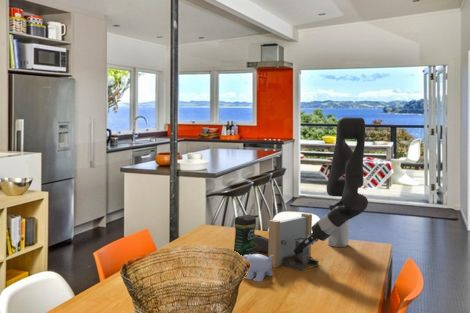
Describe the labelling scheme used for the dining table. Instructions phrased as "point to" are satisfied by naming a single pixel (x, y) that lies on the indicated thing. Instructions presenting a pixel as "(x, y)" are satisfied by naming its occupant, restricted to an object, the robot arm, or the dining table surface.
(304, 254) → the bar
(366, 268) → the dining table surface
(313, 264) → the keeper
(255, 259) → the hippopotamus toy
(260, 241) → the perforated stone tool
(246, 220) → the coffee jar
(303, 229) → the door
